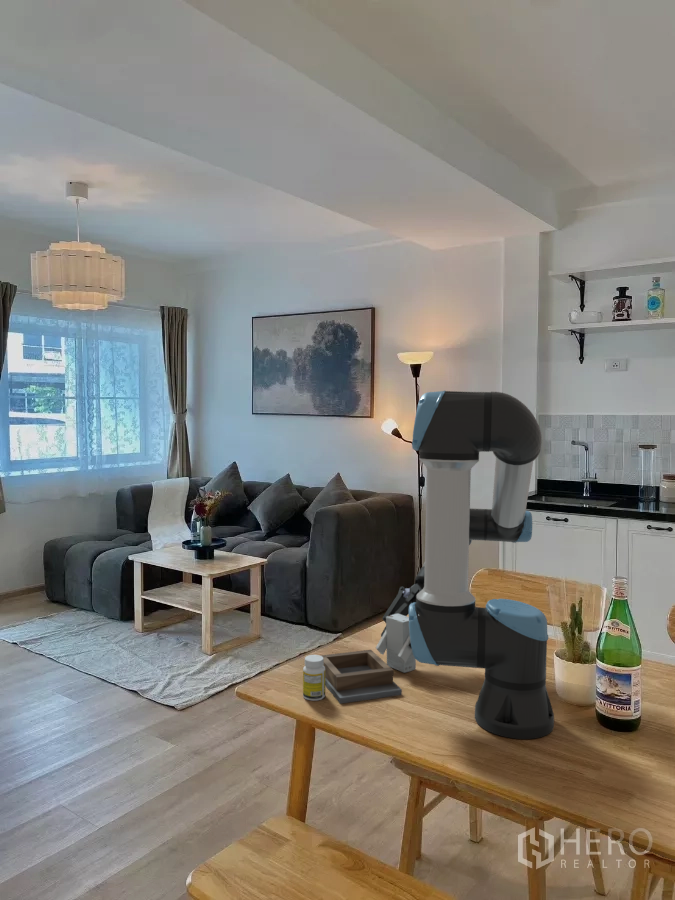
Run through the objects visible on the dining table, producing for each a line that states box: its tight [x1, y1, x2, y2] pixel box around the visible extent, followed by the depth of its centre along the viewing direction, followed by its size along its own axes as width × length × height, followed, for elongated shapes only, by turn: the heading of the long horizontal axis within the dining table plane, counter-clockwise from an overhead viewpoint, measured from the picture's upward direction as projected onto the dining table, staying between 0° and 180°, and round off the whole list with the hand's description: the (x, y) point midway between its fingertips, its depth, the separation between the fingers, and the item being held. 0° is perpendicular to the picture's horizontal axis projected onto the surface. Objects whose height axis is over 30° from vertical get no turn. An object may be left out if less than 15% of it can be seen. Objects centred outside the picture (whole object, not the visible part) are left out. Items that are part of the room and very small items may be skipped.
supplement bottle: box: [302, 654, 326, 702], centre depth 148 cm, size 5×5×8 cm
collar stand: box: [320, 649, 403, 704], centre depth 156 cm, size 20×14×4 cm
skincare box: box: [385, 614, 417, 674], centre depth 164 cm, size 6×4×12 cm
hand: (390, 655), depth 162 cm, fingers closed on skincare box, 6 cm apart
